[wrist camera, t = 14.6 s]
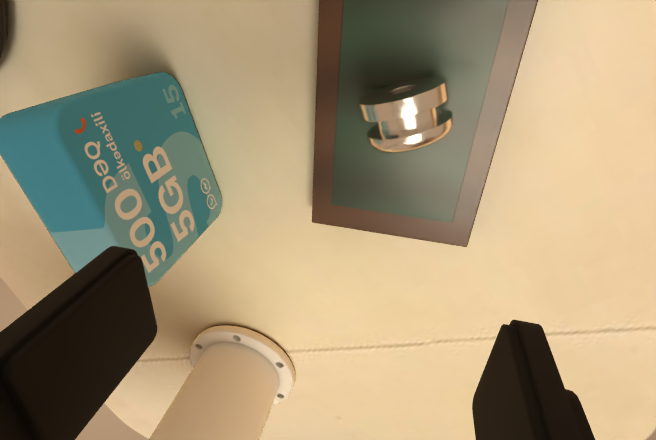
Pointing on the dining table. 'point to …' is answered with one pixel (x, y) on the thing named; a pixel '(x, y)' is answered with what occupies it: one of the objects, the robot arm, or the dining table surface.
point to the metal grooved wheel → (407, 114)
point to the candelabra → (2, 24)
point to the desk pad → (464, 102)
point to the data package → (115, 171)
